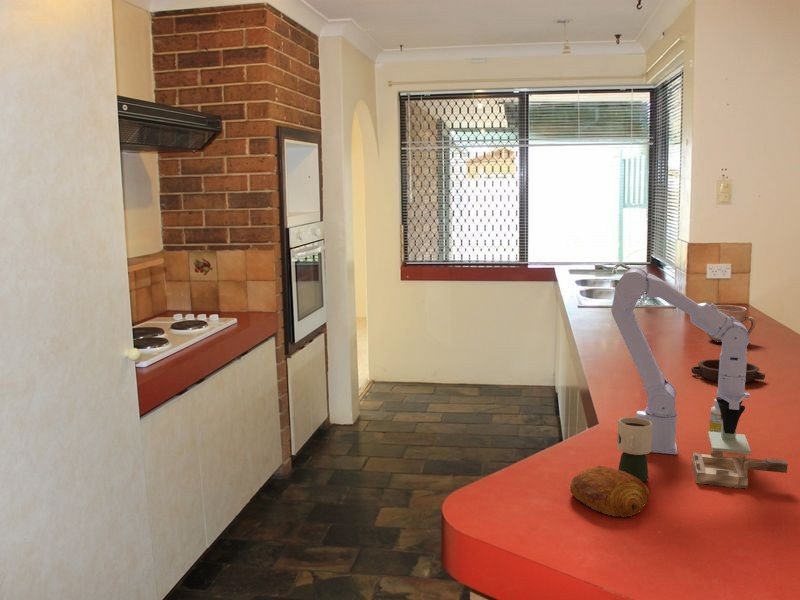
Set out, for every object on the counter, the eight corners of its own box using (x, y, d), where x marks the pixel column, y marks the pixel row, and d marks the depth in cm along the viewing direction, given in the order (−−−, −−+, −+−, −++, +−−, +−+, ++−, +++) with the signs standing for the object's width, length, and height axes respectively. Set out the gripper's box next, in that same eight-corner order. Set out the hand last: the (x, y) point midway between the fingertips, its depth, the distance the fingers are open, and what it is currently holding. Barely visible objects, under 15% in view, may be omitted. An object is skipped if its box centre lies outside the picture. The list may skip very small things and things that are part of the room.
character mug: (622, 468, 171) (624, 412, 169) (654, 474, 167) (657, 417, 165) (609, 485, 161) (612, 426, 159) (644, 491, 158) (647, 431, 156)
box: (696, 483, 162) (697, 459, 161) (692, 463, 173) (693, 440, 172) (747, 489, 159) (749, 464, 158) (739, 468, 170) (741, 445, 169)
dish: (766, 390, 234) (767, 374, 234) (689, 383, 243) (690, 367, 242) (763, 376, 250) (764, 362, 250) (691, 370, 259) (692, 356, 258)
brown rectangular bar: (747, 469, 160) (747, 460, 160) (745, 465, 162) (746, 456, 162) (786, 473, 158) (787, 463, 158) (784, 469, 160) (785, 460, 160)
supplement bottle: (715, 441, 188) (717, 403, 187) (704, 433, 194) (707, 397, 192) (736, 440, 189) (738, 403, 187) (724, 433, 194) (727, 396, 193)
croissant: (603, 534, 144) (608, 497, 141) (557, 493, 157) (560, 458, 155) (664, 519, 149) (669, 483, 147) (613, 480, 163) (618, 447, 161)
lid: (712, 451, 172) (713, 430, 171) (708, 434, 182) (709, 415, 181) (750, 454, 169) (752, 434, 169) (744, 437, 180) (745, 418, 179)
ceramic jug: (702, 343, 300) (705, 308, 297) (705, 336, 312) (708, 302, 310) (752, 348, 292) (756, 312, 289) (753, 341, 305) (756, 306, 302)
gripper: (755, 383, 167) (751, 442, 169) (746, 368, 181) (742, 422, 183) (721, 381, 169) (717, 439, 171) (714, 366, 183) (711, 420, 185)
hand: (728, 430), depth 177 cm, fingers closed on lid, 3 cm apart
